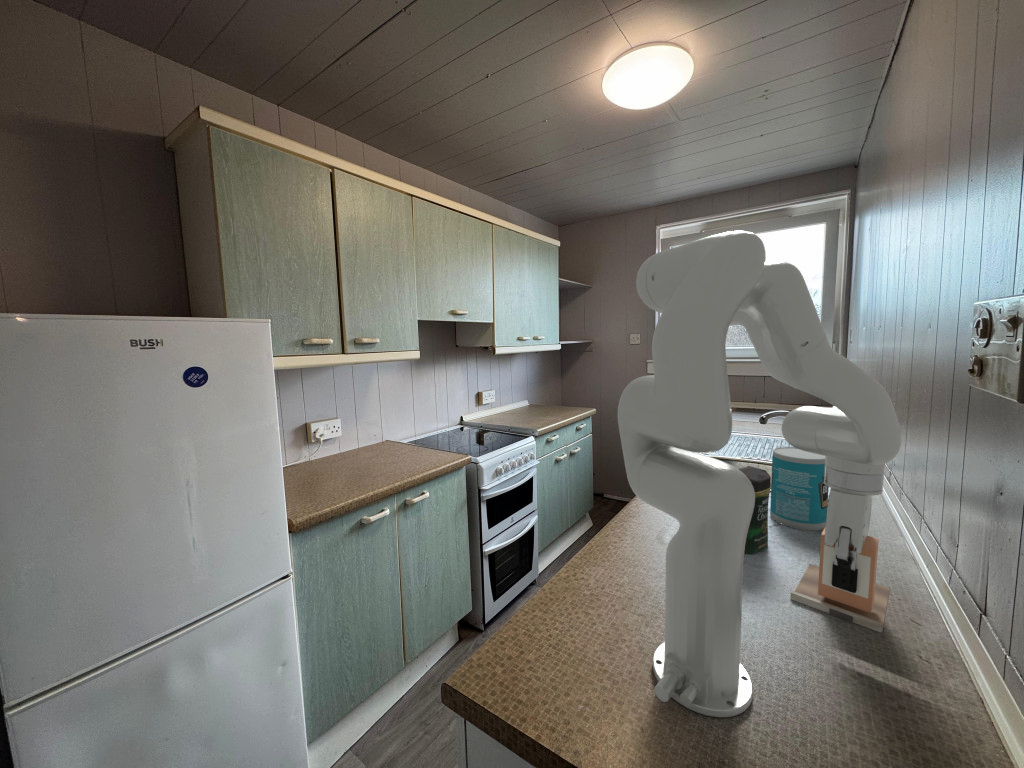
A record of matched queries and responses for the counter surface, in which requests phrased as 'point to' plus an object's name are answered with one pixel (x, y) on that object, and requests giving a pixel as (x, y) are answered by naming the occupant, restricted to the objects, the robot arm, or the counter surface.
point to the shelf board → (810, 597)
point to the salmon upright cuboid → (865, 578)
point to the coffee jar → (758, 510)
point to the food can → (798, 489)
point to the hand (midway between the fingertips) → (846, 581)
